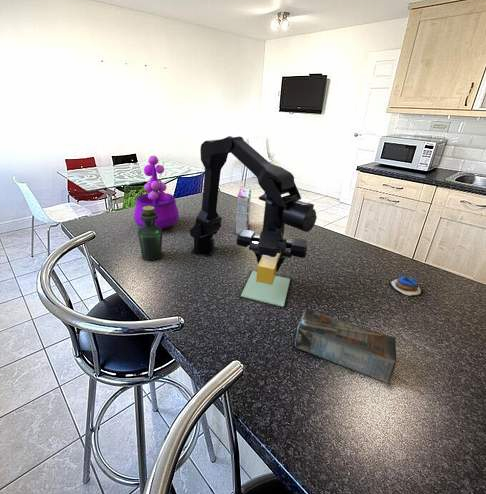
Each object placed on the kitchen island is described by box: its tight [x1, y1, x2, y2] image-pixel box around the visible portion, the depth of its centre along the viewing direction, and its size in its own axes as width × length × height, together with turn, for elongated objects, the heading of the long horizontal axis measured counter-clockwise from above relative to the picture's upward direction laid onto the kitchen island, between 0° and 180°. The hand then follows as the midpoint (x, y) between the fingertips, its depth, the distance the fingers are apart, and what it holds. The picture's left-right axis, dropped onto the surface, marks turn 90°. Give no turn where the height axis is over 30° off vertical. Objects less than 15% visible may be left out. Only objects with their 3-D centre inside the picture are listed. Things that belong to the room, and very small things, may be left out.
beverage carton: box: [294, 308, 397, 384], centre depth 63 cm, size 8×19×7 cm, turn 61°
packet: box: [256, 253, 281, 285], centre depth 83 cm, size 12×4×5 cm, turn 159°
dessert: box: [390, 274, 422, 296], centre depth 87 cm, size 8×7×6 cm
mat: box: [240, 270, 291, 308], centre depth 86 cm, size 12×14×1 cm
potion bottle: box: [137, 206, 163, 262], centre depth 98 cm, size 8×8×18 cm
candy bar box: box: [235, 188, 252, 235], centre depth 121 cm, size 11×5×16 cm, turn 168°
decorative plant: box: [133, 155, 180, 230], centre depth 120 cm, size 19×18×30 cm
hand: (268, 269), depth 84 cm, fingers closed on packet, 4 cm apart
